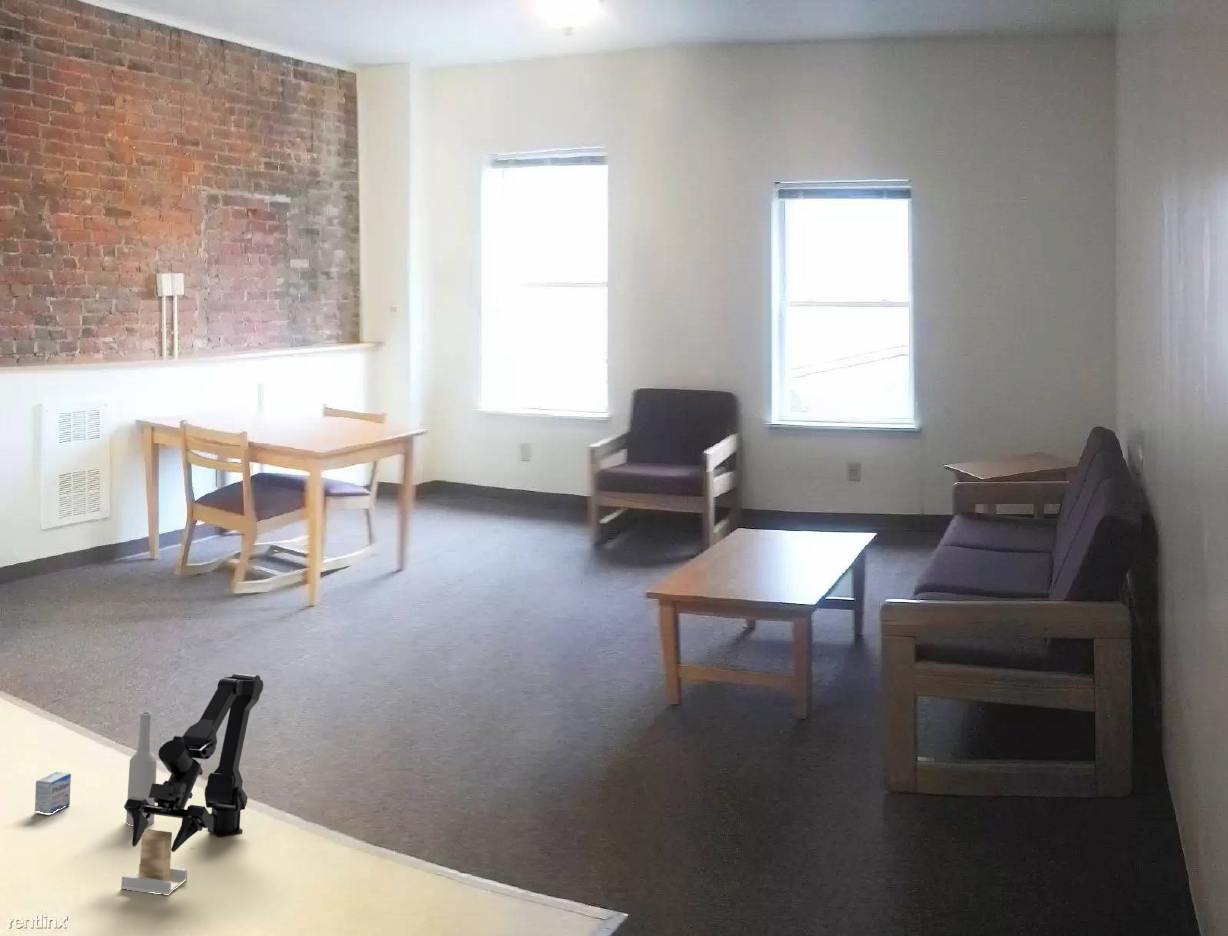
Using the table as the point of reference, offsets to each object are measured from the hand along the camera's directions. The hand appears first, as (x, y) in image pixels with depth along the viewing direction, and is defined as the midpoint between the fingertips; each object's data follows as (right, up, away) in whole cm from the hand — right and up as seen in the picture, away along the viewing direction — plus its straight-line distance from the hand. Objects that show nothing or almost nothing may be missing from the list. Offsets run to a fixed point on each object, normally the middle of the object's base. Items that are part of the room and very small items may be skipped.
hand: (152, 848), depth 261 cm
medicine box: (-41, -3, +40) cm, 58 cm away
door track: (0, -9, +2) cm, 9 cm away
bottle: (-17, -5, +36) cm, 41 cm away
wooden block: (0, -8, +2) cm, 8 cm away
